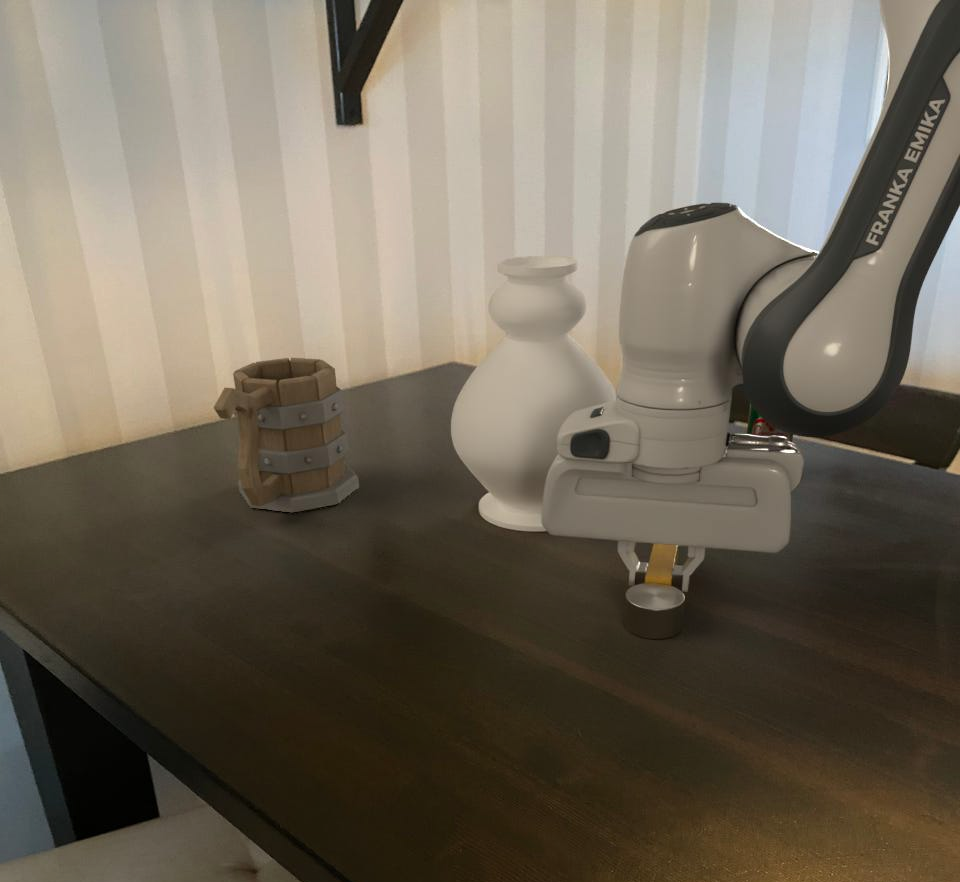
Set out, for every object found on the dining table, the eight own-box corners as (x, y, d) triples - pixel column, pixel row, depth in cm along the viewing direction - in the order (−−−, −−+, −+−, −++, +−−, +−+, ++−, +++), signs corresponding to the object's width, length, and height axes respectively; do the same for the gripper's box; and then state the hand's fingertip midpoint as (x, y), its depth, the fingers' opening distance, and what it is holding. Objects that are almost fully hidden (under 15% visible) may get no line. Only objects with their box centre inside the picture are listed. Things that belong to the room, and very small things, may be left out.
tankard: (279, 468, 114) (261, 343, 106) (373, 478, 110) (361, 348, 103) (183, 531, 98) (154, 389, 90) (289, 545, 94) (268, 398, 87)
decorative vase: (640, 491, 104) (654, 251, 92) (587, 553, 90) (596, 281, 78) (495, 471, 111) (490, 246, 98) (425, 527, 97) (410, 272, 85)
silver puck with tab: (639, 564, 88) (641, 533, 87) (691, 568, 87) (694, 537, 85) (620, 636, 77) (622, 601, 75) (679, 642, 75) (683, 607, 74)
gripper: (806, 425, 74) (783, 581, 81) (552, 412, 79) (550, 561, 86) (810, 451, 69) (784, 615, 75) (537, 436, 73) (536, 592, 80)
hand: (658, 586), depth 81 cm, fingers closed on silver puck with tab, 2 cm apart
